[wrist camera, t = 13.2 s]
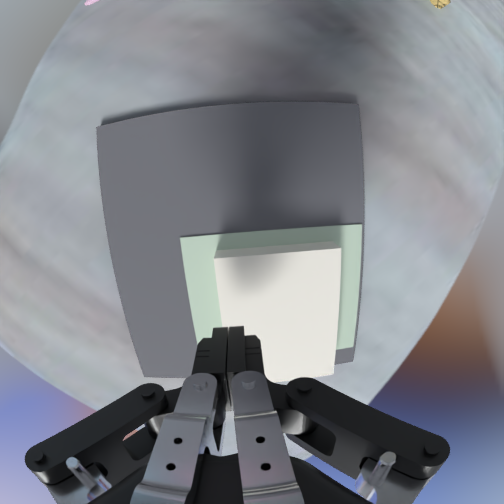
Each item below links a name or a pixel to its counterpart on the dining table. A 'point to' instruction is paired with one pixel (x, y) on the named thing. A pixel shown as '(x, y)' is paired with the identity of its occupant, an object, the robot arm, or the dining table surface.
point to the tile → (284, 304)
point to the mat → (225, 211)
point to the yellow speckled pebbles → (440, 3)
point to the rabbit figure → (90, 2)
